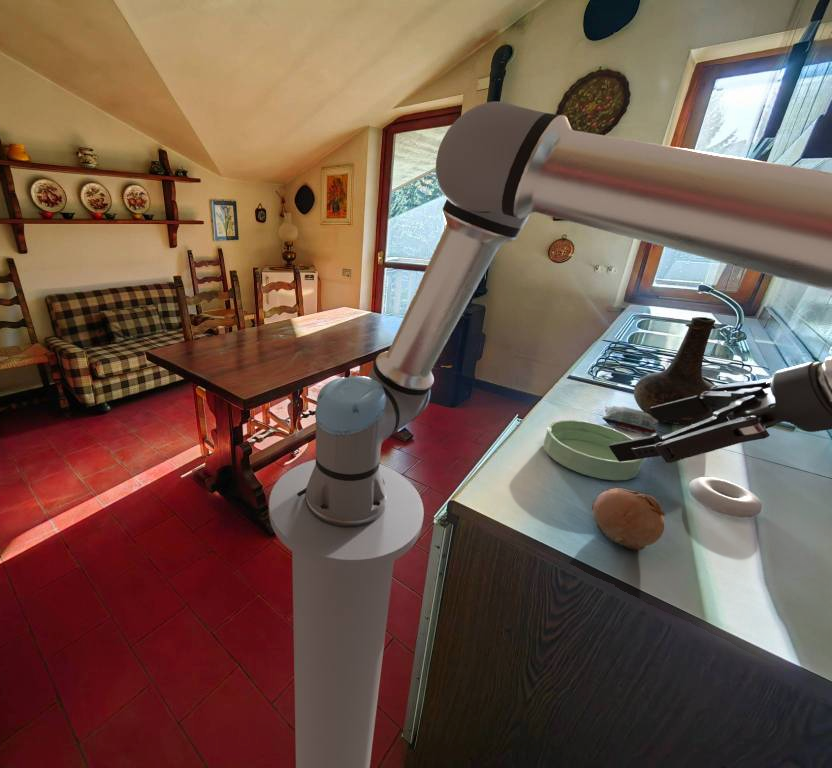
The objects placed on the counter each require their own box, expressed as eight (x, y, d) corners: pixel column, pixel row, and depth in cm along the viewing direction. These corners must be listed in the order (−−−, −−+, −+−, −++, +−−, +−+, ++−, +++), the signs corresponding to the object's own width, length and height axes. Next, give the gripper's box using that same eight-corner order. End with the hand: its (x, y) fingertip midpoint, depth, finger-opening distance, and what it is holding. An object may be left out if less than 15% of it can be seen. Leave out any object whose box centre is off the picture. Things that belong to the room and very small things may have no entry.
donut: (677, 483, 81) (698, 512, 72) (683, 469, 80) (706, 497, 71) (739, 495, 77) (770, 528, 69) (747, 481, 76) (779, 512, 68)
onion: (634, 550, 68) (684, 514, 63) (627, 568, 61) (682, 528, 57) (584, 506, 73) (626, 470, 68) (572, 518, 66) (618, 479, 62)
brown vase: (729, 433, 100) (780, 328, 90) (659, 432, 101) (702, 326, 90) (673, 404, 117) (710, 311, 106) (613, 402, 117) (644, 310, 106)
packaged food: (602, 414, 110) (607, 398, 108) (656, 427, 103) (662, 411, 101) (599, 426, 103) (604, 409, 101) (655, 441, 96) (662, 423, 95)
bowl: (580, 485, 80) (587, 464, 78) (526, 439, 96) (531, 421, 94) (659, 479, 82) (668, 459, 80) (593, 436, 98) (599, 418, 96)
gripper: (835, 478, 36) (610, 494, 55) (886, 377, 47) (683, 420, 66) (782, 408, 37) (580, 447, 56) (844, 325, 48) (656, 382, 67)
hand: (635, 432), depth 61 cm, fingers open, 13 cm apart
